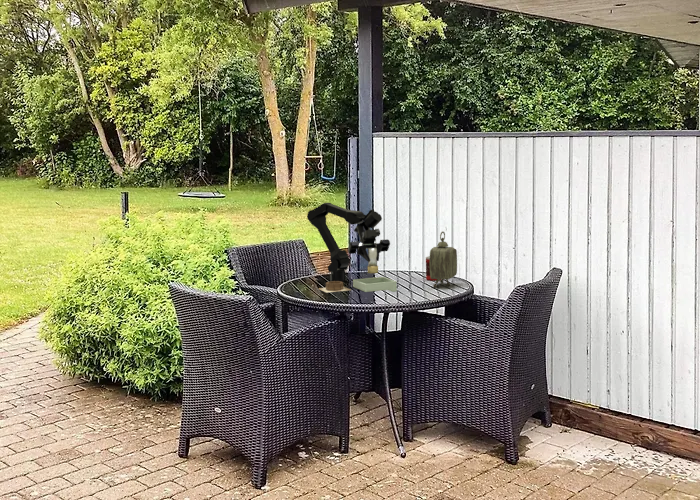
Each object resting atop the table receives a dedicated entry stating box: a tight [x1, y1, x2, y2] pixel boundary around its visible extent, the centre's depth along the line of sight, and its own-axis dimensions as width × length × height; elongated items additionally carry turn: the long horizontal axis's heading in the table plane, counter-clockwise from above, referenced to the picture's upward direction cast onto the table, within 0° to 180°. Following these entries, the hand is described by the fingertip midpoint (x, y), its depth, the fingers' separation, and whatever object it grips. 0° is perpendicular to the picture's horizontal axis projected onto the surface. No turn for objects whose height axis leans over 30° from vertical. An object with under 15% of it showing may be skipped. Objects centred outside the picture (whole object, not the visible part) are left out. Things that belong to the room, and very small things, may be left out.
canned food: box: [425, 255, 441, 282], centre depth 373 cm, size 8×8×11 cm
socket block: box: [318, 281, 352, 294], centre depth 350 cm, size 12×12×4 cm
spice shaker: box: [367, 248, 379, 274], centre depth 348 cm, size 5×5×11 cm
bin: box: [352, 276, 398, 293], centre depth 350 cm, size 15×15×4 cm
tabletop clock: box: [429, 231, 458, 288], centre depth 354 cm, size 14×9×25 cm, turn 157°
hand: (373, 261), depth 347 cm, fingers closed on spice shaker, 4 cm apart
